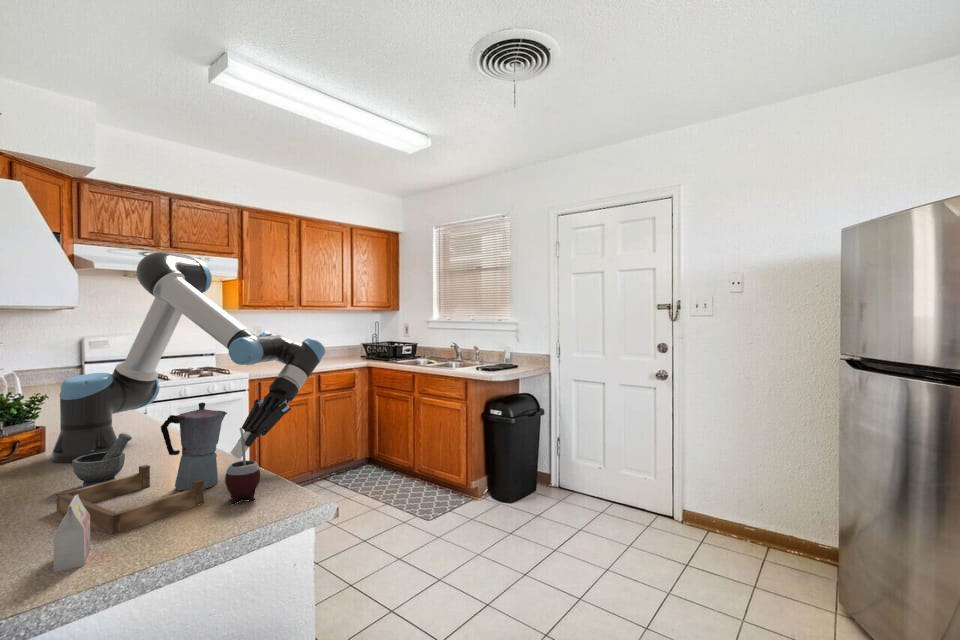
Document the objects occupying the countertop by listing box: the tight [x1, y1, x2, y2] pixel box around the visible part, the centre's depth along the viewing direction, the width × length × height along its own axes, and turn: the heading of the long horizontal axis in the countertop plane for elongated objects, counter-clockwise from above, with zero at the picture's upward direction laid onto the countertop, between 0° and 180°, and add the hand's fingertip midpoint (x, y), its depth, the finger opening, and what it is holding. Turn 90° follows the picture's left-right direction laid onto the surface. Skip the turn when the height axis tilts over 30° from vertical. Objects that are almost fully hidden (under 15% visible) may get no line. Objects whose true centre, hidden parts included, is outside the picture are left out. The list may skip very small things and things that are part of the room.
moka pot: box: [160, 402, 228, 491], centre depth 113 cm, size 10×15×20 cm, turn 155°
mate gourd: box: [224, 427, 261, 505], centre depth 106 cm, size 8×8×15 cm
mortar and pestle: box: [71, 432, 132, 488], centre depth 114 cm, size 11×9×12 cm
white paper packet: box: [53, 494, 91, 573], centre depth 79 cm, size 4×7×10 cm, turn 33°
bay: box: [56, 464, 205, 536], centre depth 101 cm, size 17×23×5 cm
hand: (235, 455), depth 122 cm, fingers closed
